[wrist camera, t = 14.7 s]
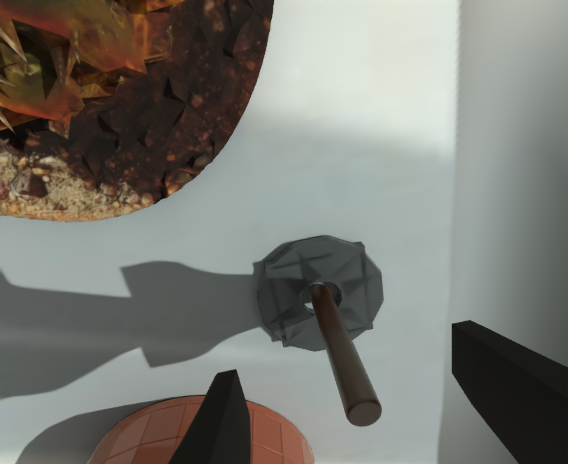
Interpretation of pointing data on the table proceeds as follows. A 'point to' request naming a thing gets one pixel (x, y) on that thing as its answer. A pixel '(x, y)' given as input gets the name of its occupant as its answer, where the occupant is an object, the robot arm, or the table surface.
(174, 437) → the bowl
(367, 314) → the holder
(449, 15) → the table surface
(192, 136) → the cactus
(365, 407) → the stick
